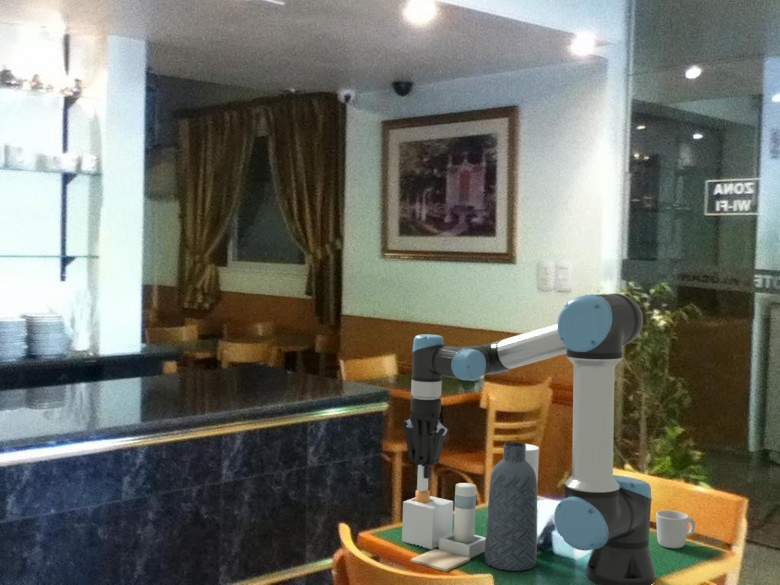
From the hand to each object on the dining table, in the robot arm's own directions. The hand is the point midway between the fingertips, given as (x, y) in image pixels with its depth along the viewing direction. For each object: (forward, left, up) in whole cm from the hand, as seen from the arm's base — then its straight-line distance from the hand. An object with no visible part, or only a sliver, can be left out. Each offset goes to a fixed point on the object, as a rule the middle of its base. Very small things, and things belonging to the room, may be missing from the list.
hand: (422, 490), depth 238 cm
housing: (-7, 0, -13) cm, 14 cm away
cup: (-51, -40, -13) cm, 66 cm away
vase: (-26, 0, -13) cm, 29 cm away
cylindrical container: (-22, -12, -13) cm, 28 cm away
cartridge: (-13, 0, -13) cm, 18 cm away
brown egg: (0, 0, -6) cm, 6 cm away
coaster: (-13, +10, -13) cm, 20 cm away
